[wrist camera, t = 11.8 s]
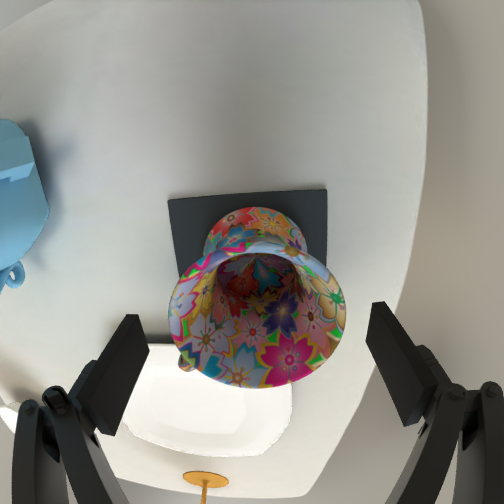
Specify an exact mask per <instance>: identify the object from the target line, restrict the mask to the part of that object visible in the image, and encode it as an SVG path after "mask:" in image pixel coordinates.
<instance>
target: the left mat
mask: <svg viewBox="0 0 504 504" xmlns="http://www.w3.org/2000/svg"><path fill="white" fill-rule="evenodd" d="M248 207H263V208H269V209H272V210H275V211H278V212H280V213H282V214H284V215H285V216H287V217H288V218H289V219H291V220H292V221H293V222H294V223H295V224H296V225H297V227H298V228H299V229H300V231H301V232H302V234H303V236H304V239H305V242H306V245H307V252H308V254H309V255H311V256H312V257H314V258H316V259H317V260H318V261H319V262H321V263H322V264H323V265H324V266H325V267H326V256H327V190H326V189H324V190H293V191H272V192H254V193H239V194H225V195H213V196H202V197H191V198H181V199H171V200H168V208H169V215H170V222H171V229H172V236H173V242H174V249H175V255H176V261H177V266H178V272H179V278H181V277H182V275H183V274H184V273H185V272H186V271H187V270H188V268H190V267H191V266H192V265H193V264H194V263H195V262H196V261H198V260H199V259H201V258H202V257H203V252H204V246H205V242H206V239H207V237H208V235H209V233H210V231H211V230H212V228H213V227H214V226H215V225H216V223H217V222H218V221H220V220H221V219H222V218H223V217H225V216H226V215H228V214H230V213H232V212H234V211H236V210H239V209H243V208H248Z"/></svg>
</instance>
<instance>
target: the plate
mask: <svg viewBox="0 0 504 504" xmlns="http://www.w3.org/2000/svg"><path fill="white" fill-rule="evenodd" d="M147 344H148V347H149V350H150V352H149V355H148V357H147V359H146V361H145V364H144V366H143V368H142V371H141V373H140V375H139V378H138V380H137V382H136V385H135V387H134V389H133V392H132V394H131V397H130V399H129V401H128V404H127V406H126V409H125V411H124V414H123V416H122V420H123V421H124V423H125V424H126V425H127V427H128V428H129V429H130V431H131V432H132V433H133V434H134V435H135V436H136V437H138V438H141V439H143V440H146V441H149V442H151V443H154V444H157V445H160V446H163V447H166V448H169V449H173V450H176V451H180V452H184V453H189V454H195V455H202V456H215V457H236V456H253V455H260V454H262V453H263V452H264V451H265V450H267V449H268V448H269V447H270V446H271V445H272V444H273V443H274V442H275V441H276V440H277V439H278V438H279V437H280V436H281V434H282V433H283V432H284V430H285V429H286V427H287V426H288V424H289V422H290V418H291V414H292V387H291V383H289V384H286V385H282V386H278V387H272V388H264V389H249V388H240V387H235V386H230V385H227V384H224V383H221V382H218V381H216V380H213V379H211V378H209V377H207V376H206V375H204V374H202V373H201V372H199V371H198V370H197V369H195V370H193V371H191V372H185V371H183V370H182V369H180V368H179V366H178V360H179V357H180V354H181V353H180V351H179V350H178V348H177V347H176V345H175V344H169V343H147Z"/></svg>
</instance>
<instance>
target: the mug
mask: <svg viewBox="0 0 504 504" xmlns="http://www.w3.org/2000/svg"><path fill="white" fill-rule="evenodd" d="M168 320H169V327H170V332H171V335H172V338H173V341H174V343H175V345H176V347H177V348H178V350H179V351H180V353H181V354H180V357H179V360H178V366H179V368H180V369H182V370H183V371H185V372H191V371H193V370H195V369H197V370H198V371H199V372H201V373H202V374H204V375H206V376H207V377H209V378H211V379H213V380H216V381H218V382H221V383H224V384H227V385H230V386H235V387H240V388H249V389H264V388H272V387H278V386H282V385H286V384H289V383H292V382H294V381H297V380H299V379H301V378H303V377H305V376H307V375H309V374H310V373H312V372H313V371H315V370H316V369H317V368H319V367H320V366H321V365H322V364H323V363H324V362H325V361H326V360H327V359H328V358H329V357H330V356H331V355H332V353H333V352H334V350H335V349H336V347H337V346H338V344H339V342H340V340H341V337H342V335H343V331H344V328H345V322H346V305H345V300H344V296H343V293H342V290H341V288H340V286H339V284H338V282H337V281H336V279H335V278H334V276H333V275H332V274H331V272H330V271H329V270H328V269H327V268H326V267H325V266H324V265H323V264H322V263H321V262H319V261H318V260H317V259H316V258H314V257H312V256H311V255H309V254H308V252H307V245H306V242H305V239H304V236H303V234H302V232H301V231H300V229H299V228H298V227H297V225H296V224H295V223H294V222H293V221H292V220H291V219H289V218H288V217H287V216H285V215H284V214H282V213H280V212H278V211H275V210H272V209H269V208H263V207H248V208H243V209H239V210H236V211H234V212H232V213H230V214H228V215H226V216H225V217H223V218H222V219H221V220H220V221H218V222H217V223H216V225H215V226H214V227H213V228H212V230H211V231H210V233H209V235H208V237H207V239H206V242H205V246H204V252H203V257H202V258H201V259H199V260H198V261H196V262H195V263H194V264H193V265H192V266H191V267H190V268H188V270H187V271H186V272H185V273H184V274H183V275H182V277H181V278H180V280H179V281H178V283H177V285H176V287H175V288H174V291H173V293H172V296H171V299H170V303H169V310H168Z"/></svg>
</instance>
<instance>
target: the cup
mask: <svg viewBox="0 0 504 504" xmlns="http://www.w3.org/2000/svg"><path fill="white" fill-rule="evenodd" d="M183 478H184V480H186V481H187V482H189V483H191V484H194V485H197V486H201V487H203V490H202V499H201V504H205V502H206V493H207V487H208V488H219V487H223V486H226V485H227V484H228V480H227V479H226V478H225V477H223V476H220V475H218V474H213V473H209V472H200V471H197V472H188V473H185V474H184V475H183Z"/></svg>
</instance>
